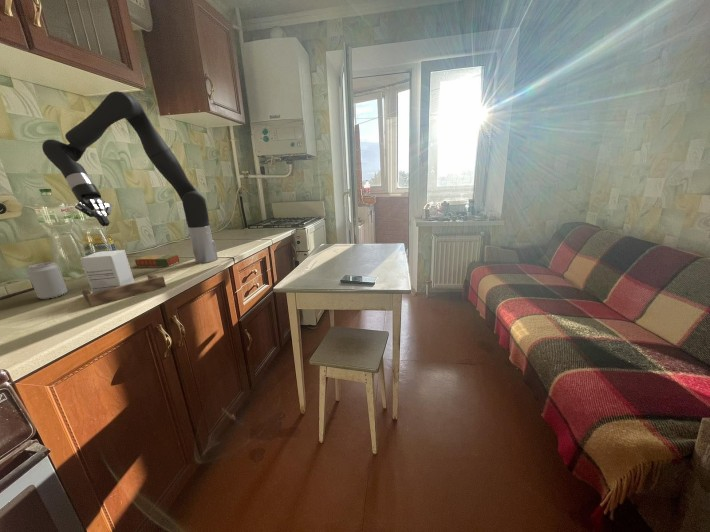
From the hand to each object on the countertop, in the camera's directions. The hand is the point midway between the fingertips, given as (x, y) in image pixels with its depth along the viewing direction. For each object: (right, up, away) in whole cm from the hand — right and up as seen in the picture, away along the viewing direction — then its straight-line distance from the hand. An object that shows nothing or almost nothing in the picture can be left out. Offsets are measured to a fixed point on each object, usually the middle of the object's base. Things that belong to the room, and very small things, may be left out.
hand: (106, 225), depth 112 cm
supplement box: (+15, -27, -13) cm, 33 cm away
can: (-8, -27, -12) cm, 31 cm away
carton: (+5, -16, +23) cm, 29 cm away
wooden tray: (+16, -26, -10) cm, 32 cm away
